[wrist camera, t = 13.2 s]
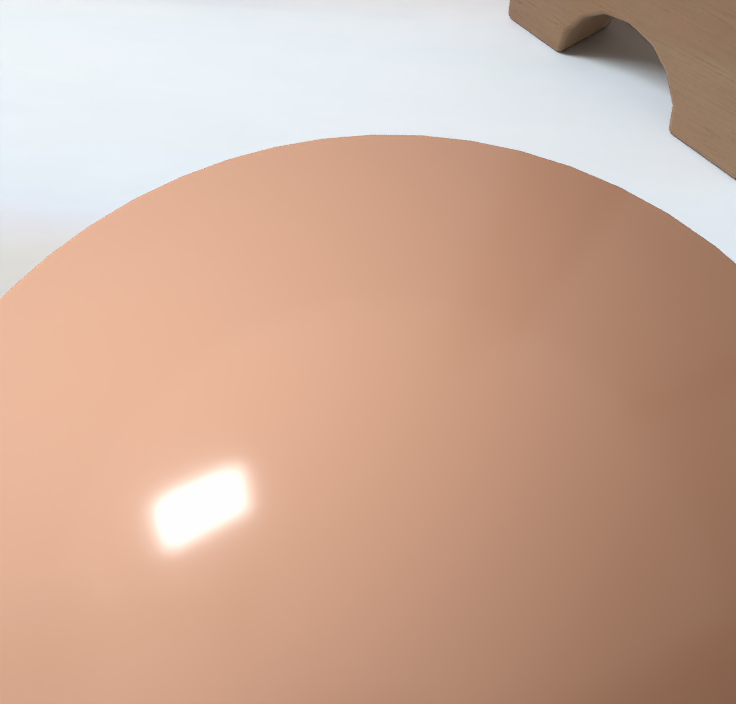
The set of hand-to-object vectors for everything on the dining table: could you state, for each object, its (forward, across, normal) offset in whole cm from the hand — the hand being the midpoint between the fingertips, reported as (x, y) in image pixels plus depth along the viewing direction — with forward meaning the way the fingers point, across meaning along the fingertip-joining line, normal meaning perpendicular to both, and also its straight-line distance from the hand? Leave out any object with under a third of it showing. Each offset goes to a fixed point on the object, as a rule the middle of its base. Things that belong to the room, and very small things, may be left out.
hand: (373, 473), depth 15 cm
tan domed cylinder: (+1, 0, -5) cm, 5 cm away
